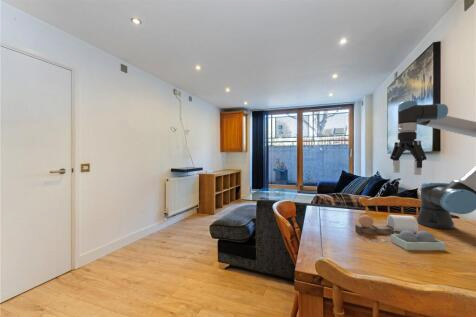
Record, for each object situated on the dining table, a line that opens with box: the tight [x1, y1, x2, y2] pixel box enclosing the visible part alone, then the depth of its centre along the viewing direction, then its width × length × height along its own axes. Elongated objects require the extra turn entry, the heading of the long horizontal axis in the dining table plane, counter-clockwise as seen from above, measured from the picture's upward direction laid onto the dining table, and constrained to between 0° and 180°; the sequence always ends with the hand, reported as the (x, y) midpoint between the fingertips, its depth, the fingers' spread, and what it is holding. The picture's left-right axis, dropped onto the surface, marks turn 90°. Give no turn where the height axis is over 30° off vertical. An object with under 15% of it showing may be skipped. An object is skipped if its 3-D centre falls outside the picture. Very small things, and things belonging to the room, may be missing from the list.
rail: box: [354, 224, 395, 235], centre depth 102 cm, size 16×4×4 cm, turn 89°
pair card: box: [366, 238, 388, 245], centre depth 92 cm, size 8×6×1 cm
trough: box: [390, 233, 446, 251], centre depth 87 cm, size 15×9×4 cm, turn 90°
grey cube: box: [398, 231, 417, 242], centre depth 87 cm, size 6×6×6 cm
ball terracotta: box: [358, 214, 374, 228], centre depth 102 cm, size 6×6×6 cm
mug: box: [386, 214, 419, 234], centre depth 107 cm, size 12×10×8 cm
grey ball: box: [415, 230, 436, 242], centre depth 87 cm, size 6×6×6 cm
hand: (406, 173), depth 108 cm, fingers open, 13 cm apart
